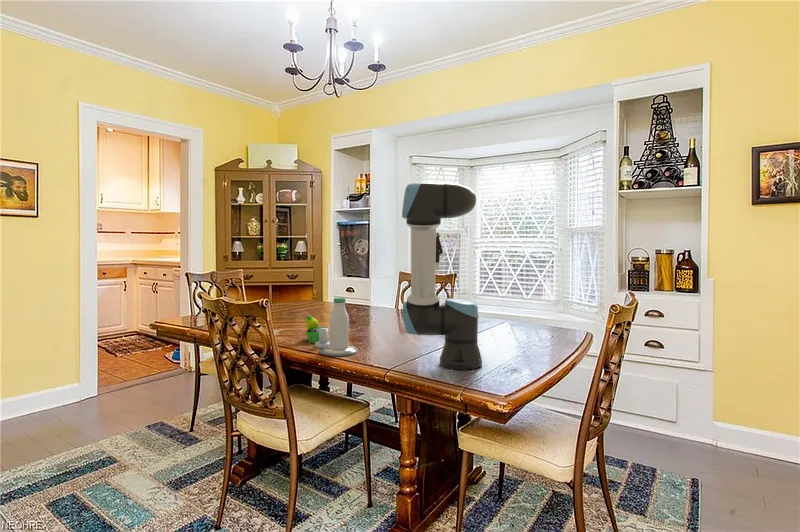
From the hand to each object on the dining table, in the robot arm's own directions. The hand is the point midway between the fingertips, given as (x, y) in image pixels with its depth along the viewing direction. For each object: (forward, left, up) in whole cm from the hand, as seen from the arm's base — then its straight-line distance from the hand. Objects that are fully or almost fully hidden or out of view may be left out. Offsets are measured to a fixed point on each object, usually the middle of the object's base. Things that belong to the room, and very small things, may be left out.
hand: (427, 269), depth 202 cm
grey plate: (-2, +43, -32) cm, 53 cm away
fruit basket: (+22, +44, -32) cm, 59 cm away
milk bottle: (-2, +43, -30) cm, 53 cm away
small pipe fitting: (+10, +45, -32) cm, 56 cm away
